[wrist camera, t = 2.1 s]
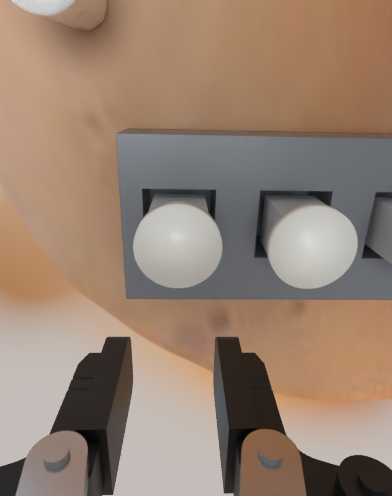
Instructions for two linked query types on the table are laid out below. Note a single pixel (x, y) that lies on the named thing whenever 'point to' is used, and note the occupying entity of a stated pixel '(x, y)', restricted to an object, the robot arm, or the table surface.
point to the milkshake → (68, 11)
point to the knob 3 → (381, 228)
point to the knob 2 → (307, 240)
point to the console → (255, 202)
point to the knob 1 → (178, 241)
